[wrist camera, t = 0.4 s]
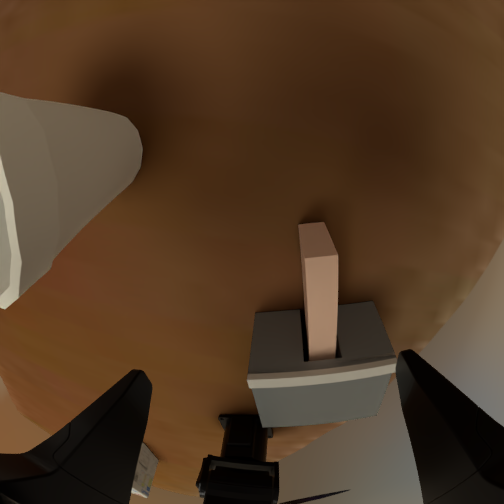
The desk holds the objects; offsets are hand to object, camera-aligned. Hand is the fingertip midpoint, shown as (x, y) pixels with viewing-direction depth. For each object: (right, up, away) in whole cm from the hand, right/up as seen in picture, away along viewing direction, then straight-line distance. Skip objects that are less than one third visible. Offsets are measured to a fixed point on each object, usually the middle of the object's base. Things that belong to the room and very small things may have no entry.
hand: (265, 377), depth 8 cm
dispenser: (+5, -4, +16) cm, 17 cm away
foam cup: (-11, +12, +10) cm, 19 cm away
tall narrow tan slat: (+4, +2, +12) cm, 13 cm away
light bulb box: (-24, -37, +35) cm, 56 cm away
